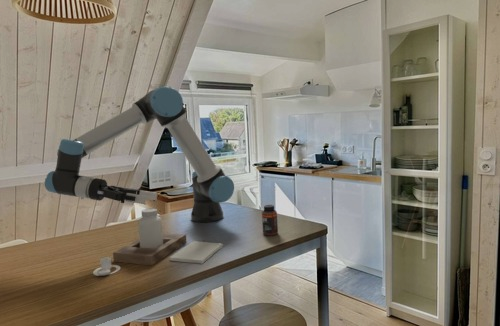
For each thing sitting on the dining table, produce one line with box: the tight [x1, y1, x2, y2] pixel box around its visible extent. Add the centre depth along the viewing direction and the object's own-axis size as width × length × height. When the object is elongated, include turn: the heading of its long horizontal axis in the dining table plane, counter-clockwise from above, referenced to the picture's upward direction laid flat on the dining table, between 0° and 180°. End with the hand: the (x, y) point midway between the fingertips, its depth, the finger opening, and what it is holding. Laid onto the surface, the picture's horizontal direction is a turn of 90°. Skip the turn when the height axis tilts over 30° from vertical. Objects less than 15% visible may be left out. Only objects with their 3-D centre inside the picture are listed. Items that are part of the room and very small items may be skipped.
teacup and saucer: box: [92, 256, 121, 277], centre depth 108 cm, size 9×8×4 cm
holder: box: [112, 232, 187, 266], centre depth 123 cm, size 22×15×3 cm
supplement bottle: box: [261, 204, 279, 237], centre depth 136 cm, size 6×6×11 cm
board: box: [169, 240, 224, 264], centre depth 120 cm, size 16×12×1 cm
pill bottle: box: [137, 208, 163, 249], centre depth 123 cm, size 8×8×15 cm
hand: (151, 198), depth 122 cm, fingers open, 13 cm apart
